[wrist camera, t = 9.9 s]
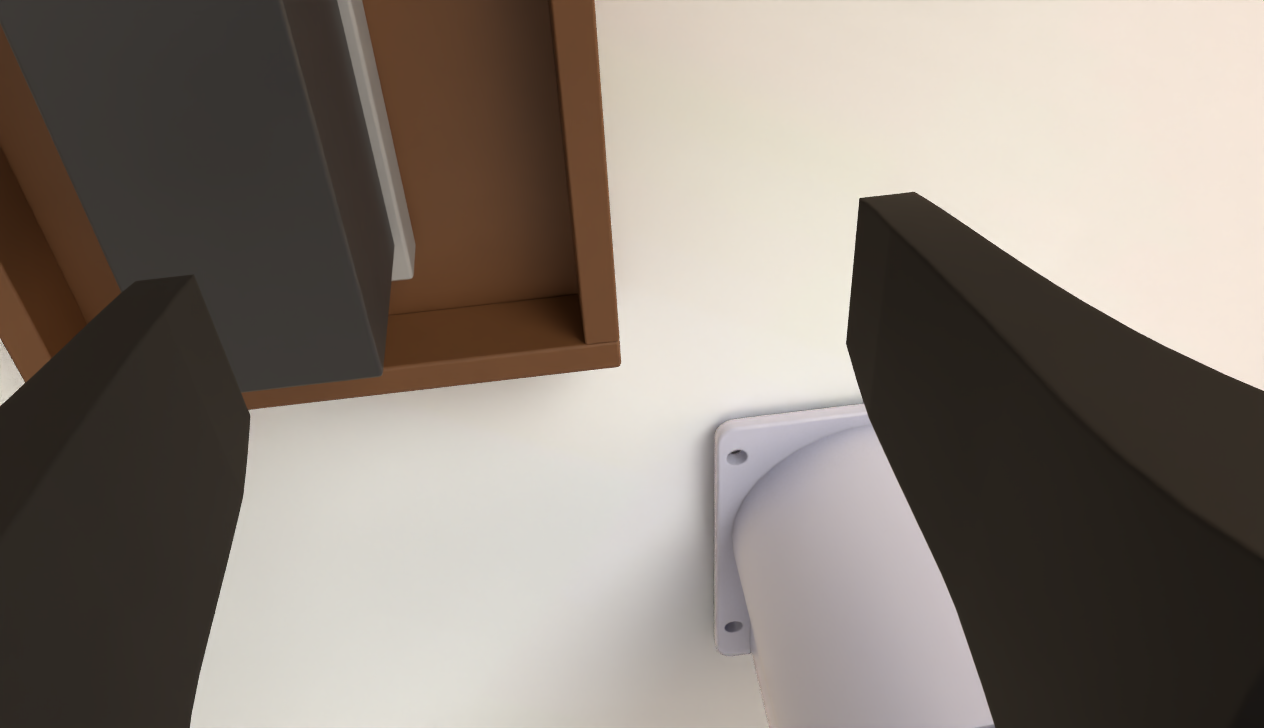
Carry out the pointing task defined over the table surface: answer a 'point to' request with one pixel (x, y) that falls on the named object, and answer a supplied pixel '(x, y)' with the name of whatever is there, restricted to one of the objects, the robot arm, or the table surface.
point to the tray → (435, 195)
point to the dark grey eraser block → (233, 166)
